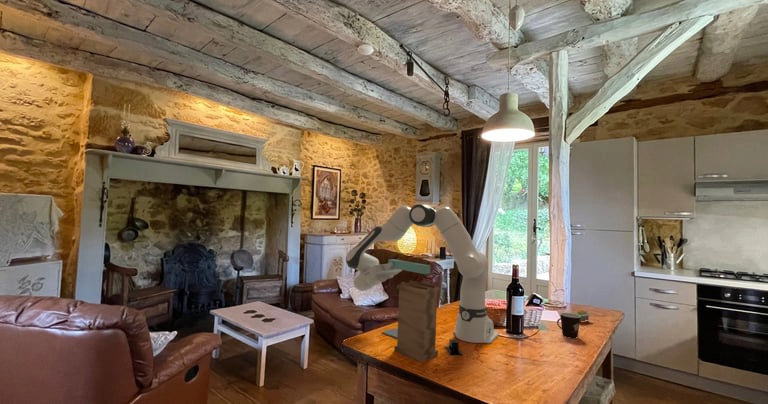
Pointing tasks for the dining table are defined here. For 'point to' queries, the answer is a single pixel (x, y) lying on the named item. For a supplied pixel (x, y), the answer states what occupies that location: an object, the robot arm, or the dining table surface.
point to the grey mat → (391, 332)
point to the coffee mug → (569, 324)
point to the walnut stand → (417, 320)
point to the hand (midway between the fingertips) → (396, 263)
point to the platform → (583, 315)
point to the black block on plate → (453, 347)
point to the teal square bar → (410, 266)
